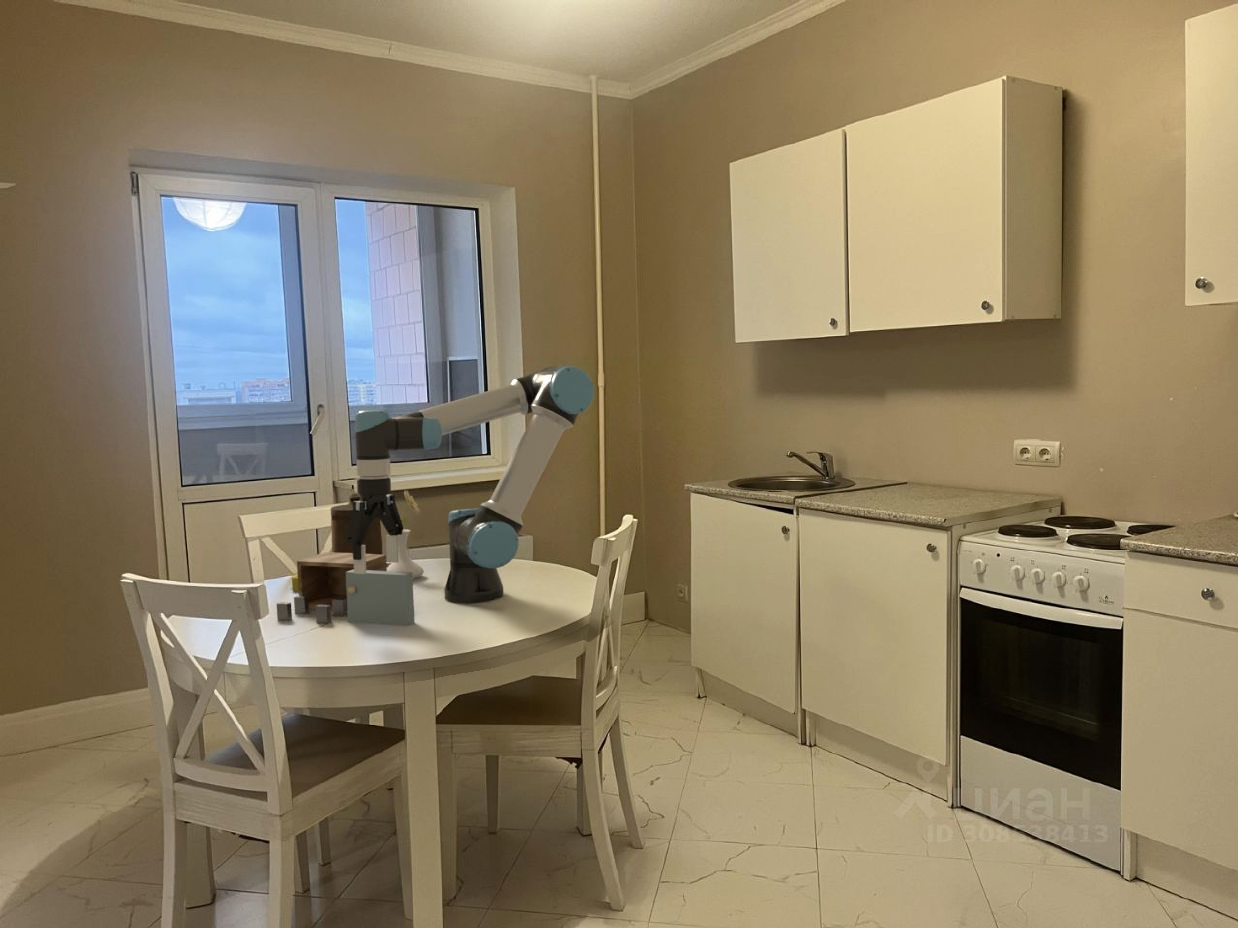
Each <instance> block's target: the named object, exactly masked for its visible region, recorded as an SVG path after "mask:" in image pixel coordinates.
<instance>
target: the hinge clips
mask: <svg viewBox="0 0 1238 928" xmlns="http://www.w3.org/2000/svg"><path fill="white" fill-rule="evenodd" d="M293 603H294V614H302V615H305V614H309V613H310V609H309V604H308V596H299V595H295V596H293ZM332 606H333V610H330V605H317V606H316V609H315V619H316V620H315V621H316V623H317V624H330V623H331V622H332V616H335V617H346V616H348V611H347V599H343V598H335V599H332ZM292 613H293V612H292V602H288V601H286V602H285V601H280V602H277V603H276V616H277V619H278V620H277V621H287V620H288V621H290V620H293V617H292V616H293V614H292ZM329 622H330V623H329Z"/></svg>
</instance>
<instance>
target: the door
mask: <svg viewBox="0 0 1238 928" xmlns="http://www.w3.org/2000/svg"><path fill="white" fill-rule="evenodd" d="M413 579H414V578H413V577H412V572H393V571H373V570H366V574H354V570H350V571H347V572H346V590H347V609H348V611H347V622H348V623H356V622H359V623H358V624H370V625H371V624H373V625H374V624H375V625H388V626H402V627H409V626H410V625H413V624H415V623H416V622H415V606H414V605H415V604H414V583H413V582H414V581H413Z"/></svg>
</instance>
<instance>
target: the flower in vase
mask: <svg viewBox="0 0 1238 928" xmlns="http://www.w3.org/2000/svg"><path fill="white" fill-rule="evenodd" d="M403 494H404V498H405V500H406V502H407V505H406V507H405V509H404V511H403V513H402V519H401V522H402V525H403V526H404V525H405V524H406V525H410V519H409V518H408V517H407V516H405V513H406V511H407V509H408V507H409V508H410V509H411V510H412V512H413V513H415V514H416V515H420V512H421V510H420V509H419V507H418V506H419V505H418V503H417V502H416V501H415V500H414V497H413V495H410V493H409V490H404V492H403ZM410 533H411V529H403V531H402V534H401V535H398V563H392V562H391V564H389V566H388V567H387V571H393V572H412V577H413V579H417V578H419V577H421V576H423V574H424V573H425V571H424V569H423V567H422V566H421V565H419V564H418V563H417V562H415V561H414V560H413V559H412V558H410V557H409V556H408V552H407V551H408V550H407V541H408V536H409V535H410Z"/></svg>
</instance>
